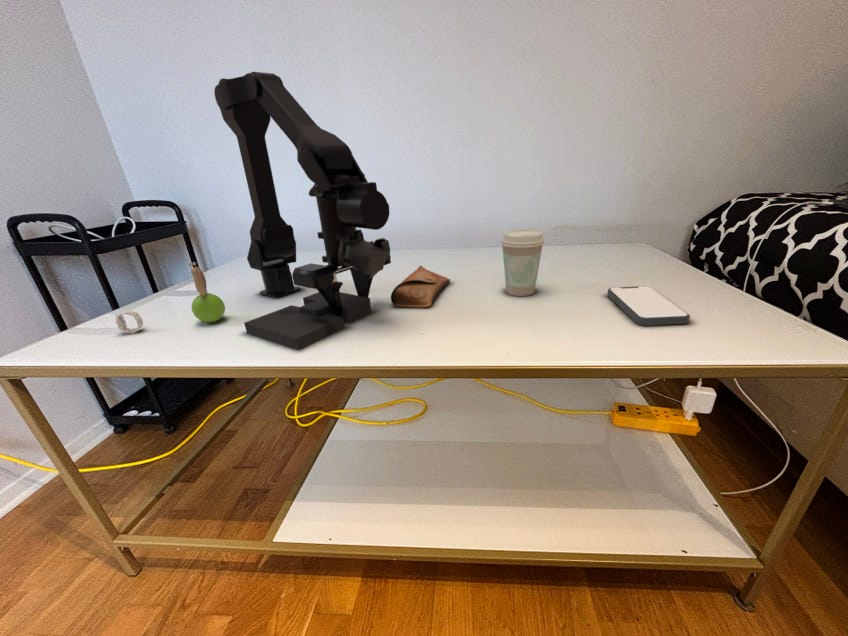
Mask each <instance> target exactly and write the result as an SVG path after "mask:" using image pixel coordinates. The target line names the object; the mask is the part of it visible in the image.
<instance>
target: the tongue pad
mask: <svg viewBox="0 0 848 636" xmlns="http://www.w3.org/2000/svg"><path fill="white" fill-rule="evenodd" d="M339 292H340V298H341V305H342V318H343V323H347V324H350V323H353V322H355V321H357V320H360V319H362V318H364V317H366V316H368V315H369V314H371V313H373V311H372V303H371V298H370V297H369V296H368V297H363V296H358V295H357V294H352V293H346V292H341V291H339ZM302 301H303V305H302V306H299V307H300V311H301V313H302V314H306V315H310V316H314V317H320V316H322V315H325V314H329V315H334V316H337V315H336V314H335V313H334V311H333V310H332V308H331V307H330V306H329V304H328V303H327V301H326V300H325V299H324V297H323V296H322V295H321V294H320V293H319V291H318V292H315V293H313V294H309V295H306V296H305V297H302Z"/></svg>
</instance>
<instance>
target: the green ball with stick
mask: <svg viewBox="0 0 848 636" xmlns="http://www.w3.org/2000/svg"><path fill="white" fill-rule="evenodd" d="M187 265H188V266H189V267H190V273H191V276H192V279H193V283H194V286H195V289H196V291H197V293H198V294H199V295H197V296H196V297H195V298H194V299H193V300H192V302H191V311H192V314H193V315H194V317H195V318H196V319H198V320H199V321H201V322H202V323H203V322H204V323H216V322H218V321H219V320H221V319H222V318H223V317H224V315H225V312H226V306H225V302H224V301H223V300H222V299H221V297H220V296H218V295H217V294H214V293H208V289H207V288H208V287H207V280H206V276H205V274H204V271H202V269H201V268H200V267H199V266H196V265H197V262H195V261H193V262H188V263H187ZM192 266H194V267H193V268H192Z"/></svg>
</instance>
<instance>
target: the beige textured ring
mask: <svg viewBox="0 0 848 636" xmlns="http://www.w3.org/2000/svg"><path fill="white" fill-rule="evenodd" d="M123 315H127V316H128V315H129V316H131V317H133V318H134V319H135V321H136V325H137V329H132V328H128V324H127V323H126V320H125V318H124V316H123ZM114 320H115V324H116V325H117V327H118V330H120V331H122V332H124V333H128V334H135V333H137V332H139V331H140V330H142V328H143V326H144V321H143V320H144V319H143V318H142V316H141V315H140V314H139V312H137V311H133V310H129V309H127V310H124V311H122V312H120V313H119V314H118V315H117V316H116V317H115V318H114Z"/></svg>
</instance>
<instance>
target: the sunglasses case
mask: <svg viewBox="0 0 848 636" xmlns="http://www.w3.org/2000/svg"><path fill="white" fill-rule="evenodd" d="M450 282H451V279H450V278H448V277H446V276H444V275H442V274H438V273H436V272H433V271H431V270H428V269H426V268H425V267H424V266H422V265H419V266H418V267H417V268H416V270H414V271H413V272H412V273H409V275H408V276H406V277H405V278H404V280H402V281H401V282H400V283H399V284H398V285H397V286H395V288H394V289H393V290H392V291H391V294H390V302H391V303H392V305H394V306H395V307H397V308H407V309H417V308H418V309H419V308H420V309H421V308H422V309H423V308H429V307H432V305H433V303H434V301H435V299H436V298H437V296H438V295H439V294H440V293H441V292H442V290H443V289H445V287H446V286H447V285H448V284H449V283H450Z"/></svg>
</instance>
